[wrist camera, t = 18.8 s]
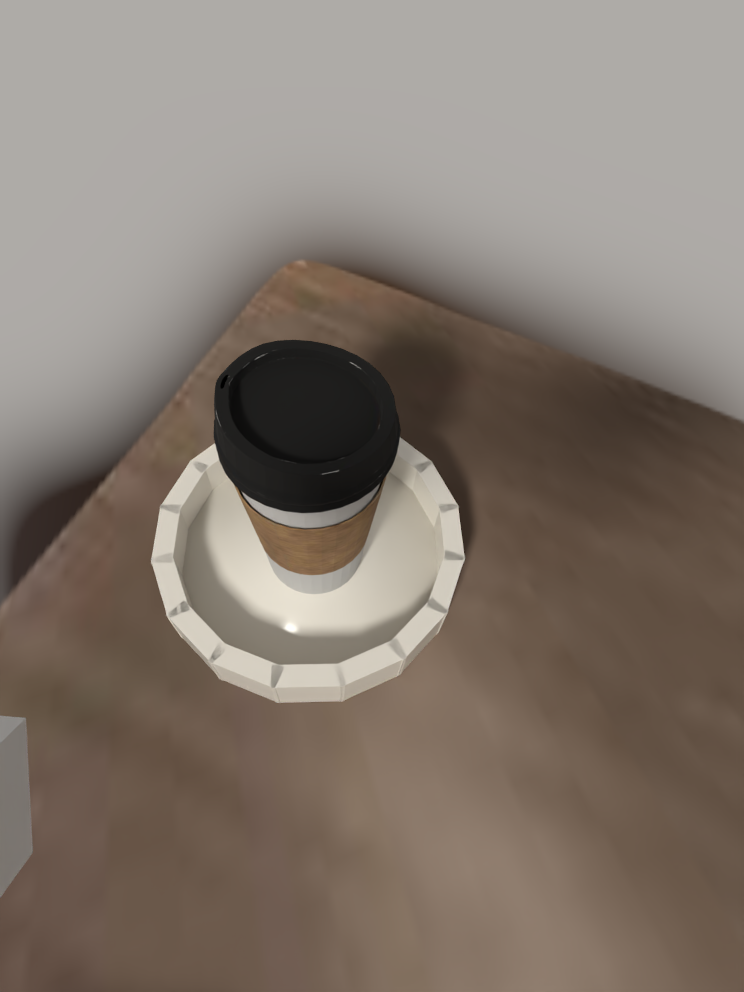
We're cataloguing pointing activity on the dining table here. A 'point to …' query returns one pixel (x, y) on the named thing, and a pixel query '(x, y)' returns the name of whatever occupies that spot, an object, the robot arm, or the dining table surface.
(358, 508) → the coffee cup
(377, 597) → the serving bowl
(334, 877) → the dining table surface
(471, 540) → the dining table surface
